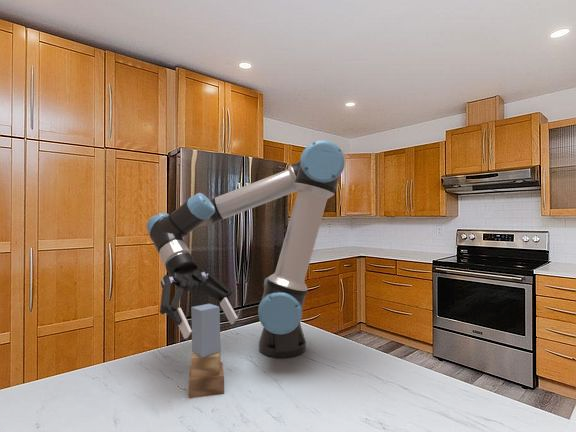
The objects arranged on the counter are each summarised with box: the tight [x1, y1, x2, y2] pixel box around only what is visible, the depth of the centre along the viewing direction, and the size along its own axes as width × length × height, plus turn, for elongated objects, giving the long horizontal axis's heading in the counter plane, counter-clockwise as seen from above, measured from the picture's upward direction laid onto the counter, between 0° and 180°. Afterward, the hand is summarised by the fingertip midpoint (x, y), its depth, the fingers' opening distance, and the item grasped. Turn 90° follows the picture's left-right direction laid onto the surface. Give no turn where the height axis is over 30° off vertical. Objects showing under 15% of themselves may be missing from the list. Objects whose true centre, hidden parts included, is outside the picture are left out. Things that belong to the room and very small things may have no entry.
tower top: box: [190, 345, 222, 377], centre depth 83 cm, size 6×6×4 cm
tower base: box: [188, 361, 225, 399], centre depth 83 cm, size 8×8×4 cm
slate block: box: [190, 303, 222, 357], centre depth 83 cm, size 5×5×11 cm
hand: (212, 327), depth 81 cm, fingers open, 13 cm apart
